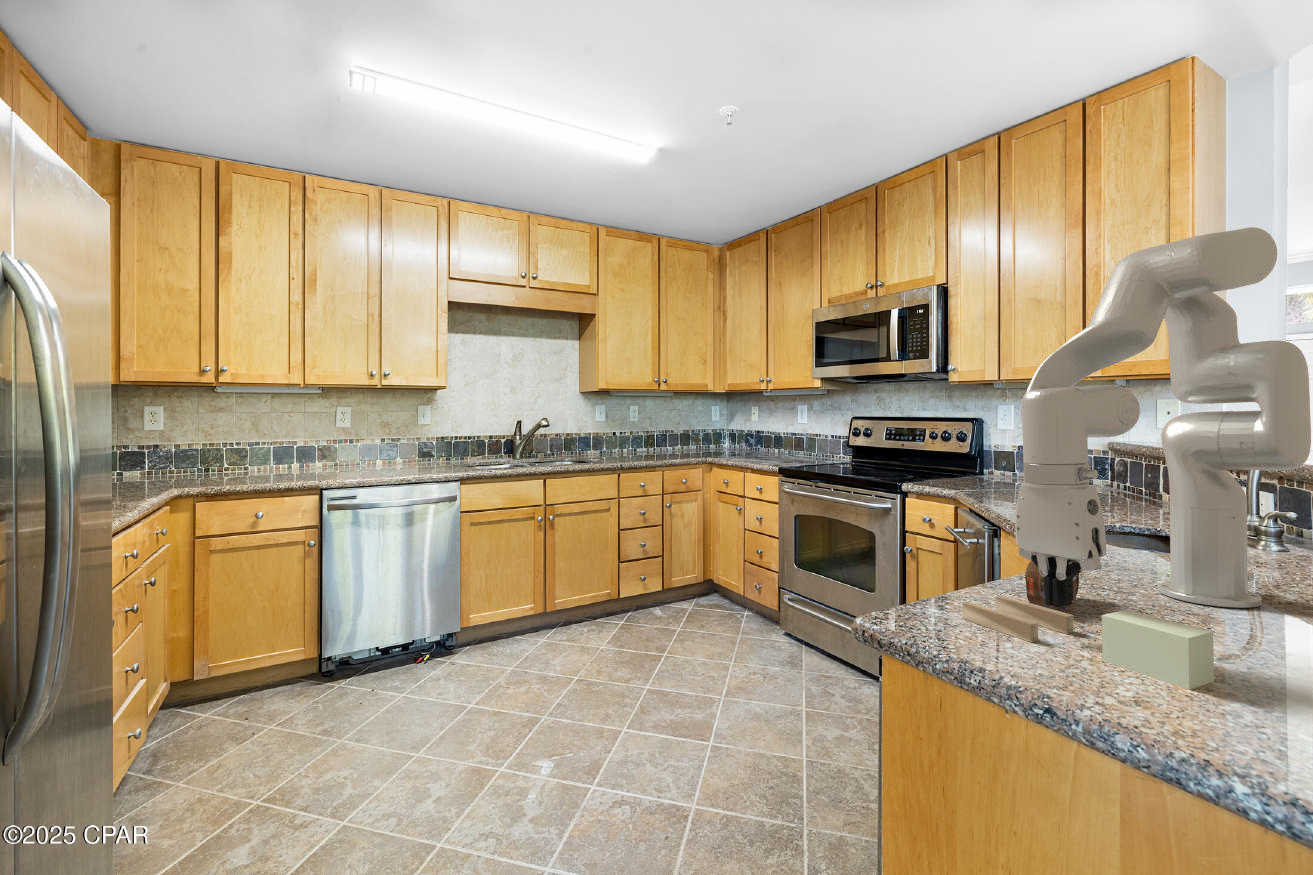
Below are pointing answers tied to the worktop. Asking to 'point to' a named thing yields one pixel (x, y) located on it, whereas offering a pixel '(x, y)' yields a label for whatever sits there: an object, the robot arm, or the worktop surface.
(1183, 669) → the block
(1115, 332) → the robot arm
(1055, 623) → the chute
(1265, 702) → the worktop surface
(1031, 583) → the tin
